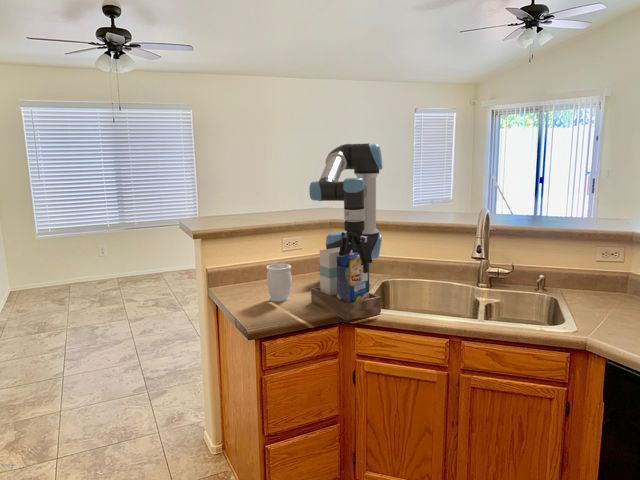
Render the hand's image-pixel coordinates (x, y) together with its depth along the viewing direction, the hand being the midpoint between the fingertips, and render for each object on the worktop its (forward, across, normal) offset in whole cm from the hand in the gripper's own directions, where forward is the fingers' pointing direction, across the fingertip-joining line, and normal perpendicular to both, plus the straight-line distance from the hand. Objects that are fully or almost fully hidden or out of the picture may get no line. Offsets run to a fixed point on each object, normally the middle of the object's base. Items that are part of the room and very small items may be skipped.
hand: (355, 277), depth 176 cm
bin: (+14, -6, -1) cm, 16 cm away
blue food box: (+13, 0, -1) cm, 14 cm away
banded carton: (+13, -12, -1) cm, 18 cm away
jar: (+14, -31, -17) cm, 38 cm away
